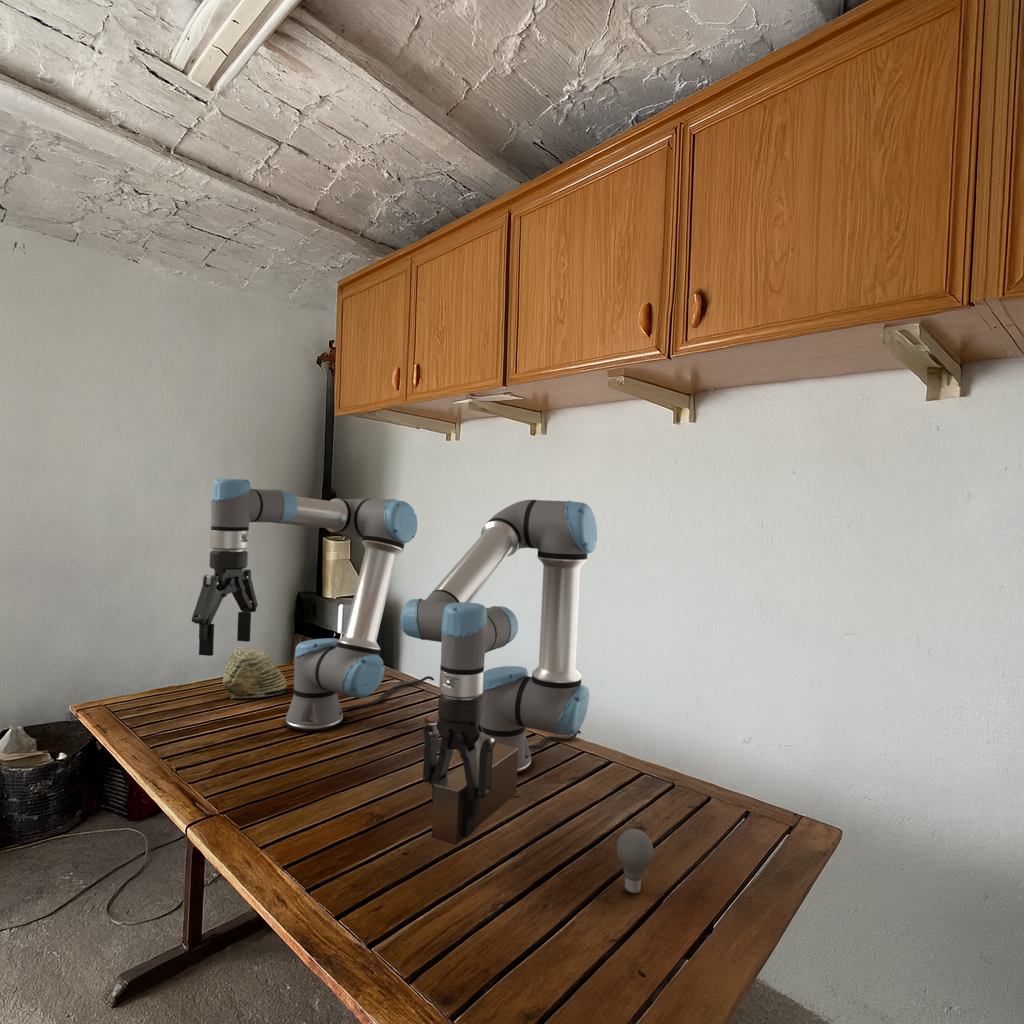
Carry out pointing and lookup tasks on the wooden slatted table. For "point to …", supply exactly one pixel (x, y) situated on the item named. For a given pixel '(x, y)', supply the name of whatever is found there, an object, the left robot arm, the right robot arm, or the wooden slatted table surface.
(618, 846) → the light bulb
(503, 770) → the bar
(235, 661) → the fossil
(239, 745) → the wooden slatted table surface
